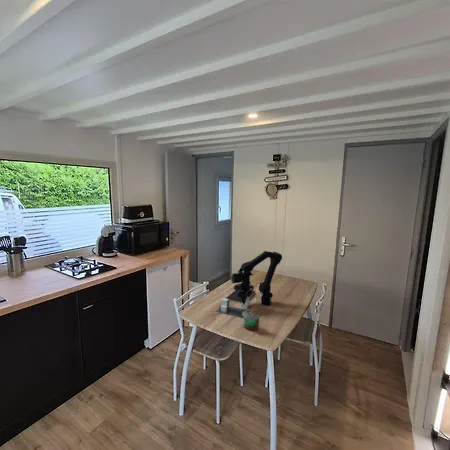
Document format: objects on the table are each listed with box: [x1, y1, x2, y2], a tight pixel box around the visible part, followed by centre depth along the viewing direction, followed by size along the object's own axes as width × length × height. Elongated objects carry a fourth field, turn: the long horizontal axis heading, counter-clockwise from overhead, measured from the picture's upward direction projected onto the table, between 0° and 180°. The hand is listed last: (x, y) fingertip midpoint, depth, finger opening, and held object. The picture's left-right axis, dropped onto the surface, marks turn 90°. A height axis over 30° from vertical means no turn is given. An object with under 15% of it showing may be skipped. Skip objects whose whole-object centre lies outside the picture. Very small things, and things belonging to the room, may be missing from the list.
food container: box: [242, 308, 261, 332], centre depth 155 cm, size 12×6×10 cm, turn 45°
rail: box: [214, 304, 252, 319], centre depth 176 cm, size 22×12×3 cm, turn 65°
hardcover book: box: [225, 290, 256, 304], centre depth 202 cm, size 16×23×2 cm
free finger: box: [240, 297, 251, 310], centre depth 184 cm, size 5×7×8 cm
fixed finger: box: [220, 297, 231, 312], centre depth 178 cm, size 5×7×8 cm
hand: (245, 302), depth 184 cm, fingers open, 7 cm apart
